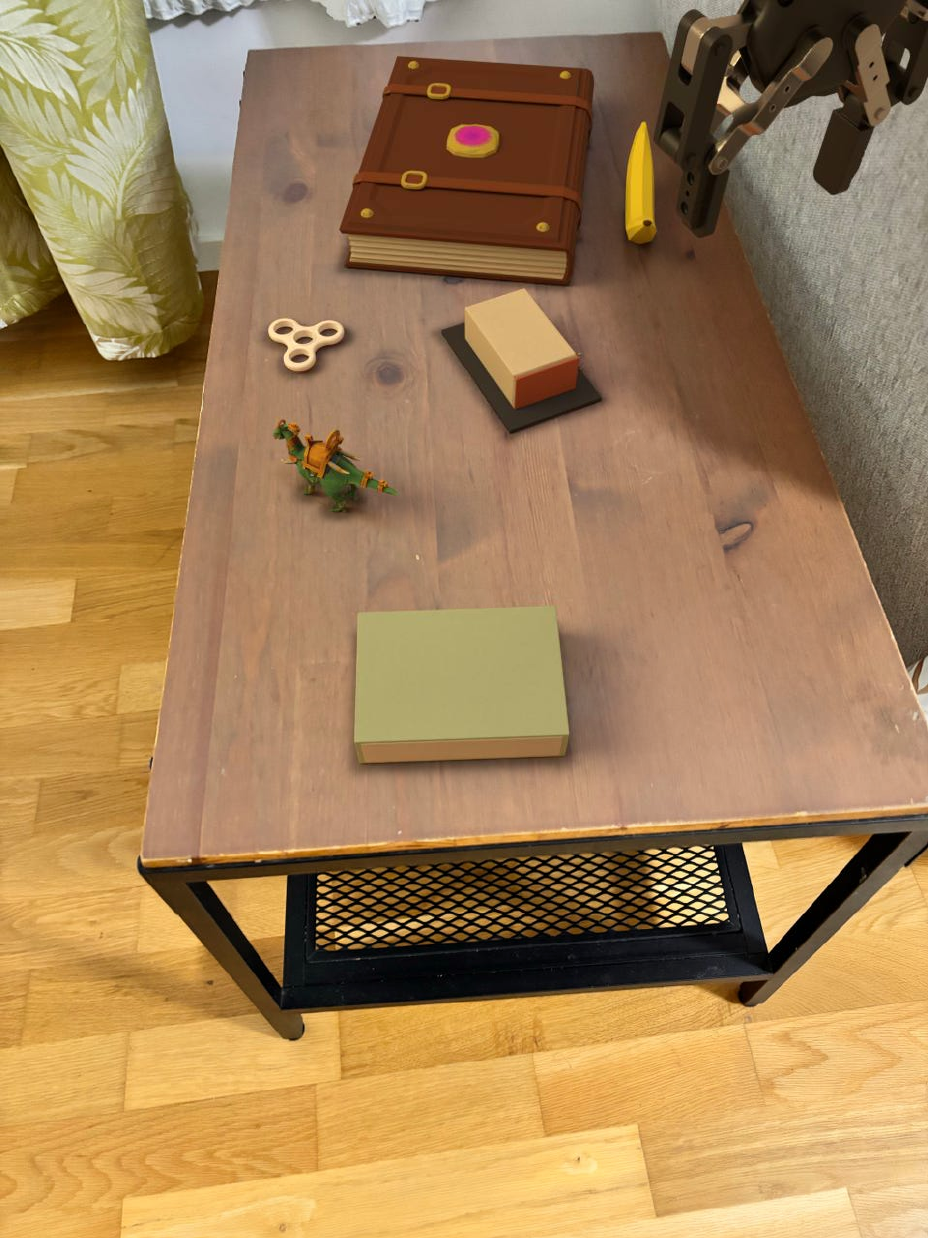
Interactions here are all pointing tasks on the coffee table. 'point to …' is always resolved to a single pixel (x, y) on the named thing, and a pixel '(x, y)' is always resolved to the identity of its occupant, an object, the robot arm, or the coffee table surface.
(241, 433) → the coffee table surface
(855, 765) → the coffee table surface
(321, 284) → the coffee table surface
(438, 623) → the bottom book
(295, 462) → the figurine
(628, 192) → the banana
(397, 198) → the book
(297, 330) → the fidget spinner
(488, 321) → the top book
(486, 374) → the felt pad
